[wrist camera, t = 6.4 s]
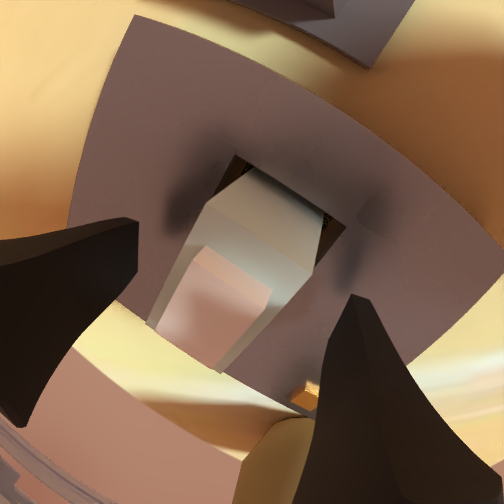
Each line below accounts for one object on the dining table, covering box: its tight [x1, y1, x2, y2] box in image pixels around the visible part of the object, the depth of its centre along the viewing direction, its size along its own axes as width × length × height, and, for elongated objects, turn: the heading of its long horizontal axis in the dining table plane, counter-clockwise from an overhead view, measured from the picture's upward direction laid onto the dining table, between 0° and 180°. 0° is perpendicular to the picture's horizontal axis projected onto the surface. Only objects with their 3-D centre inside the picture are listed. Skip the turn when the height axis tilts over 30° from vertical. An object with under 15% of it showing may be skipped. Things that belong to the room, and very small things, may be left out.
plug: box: [145, 167, 325, 374], centre depth 11 cm, size 3×5×7 cm, turn 149°
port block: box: [67, 15, 504, 421], centre depth 12 cm, size 16×12×3 cm
